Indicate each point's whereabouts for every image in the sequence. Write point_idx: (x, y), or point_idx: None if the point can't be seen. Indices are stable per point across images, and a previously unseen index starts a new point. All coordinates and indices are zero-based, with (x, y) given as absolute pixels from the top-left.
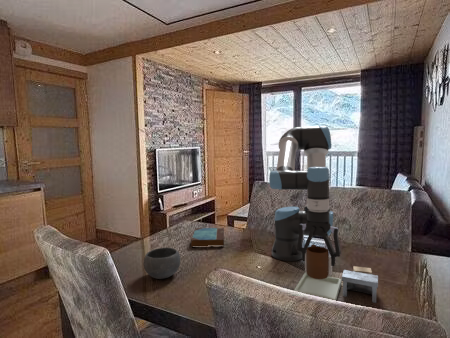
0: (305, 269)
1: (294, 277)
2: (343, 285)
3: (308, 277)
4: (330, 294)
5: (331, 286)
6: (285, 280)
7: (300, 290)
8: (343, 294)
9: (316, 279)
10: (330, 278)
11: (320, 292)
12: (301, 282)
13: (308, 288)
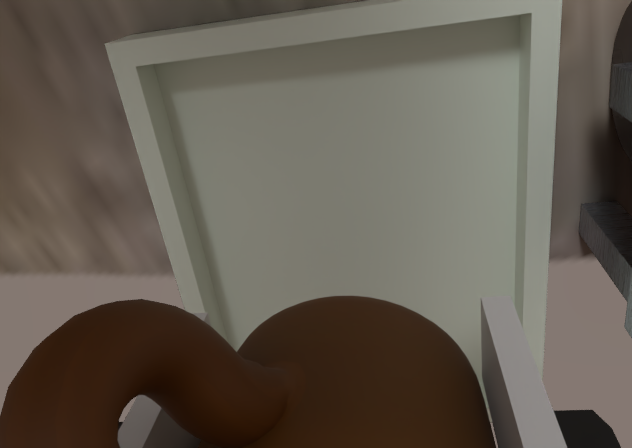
0: None
1: (55, 109)
2: (622, 288)
3: (176, 67)
4: (476, 292)
5: (456, 145)
6: (36, 213)
7: (240, 340)
8: (587, 239)
9: (268, 67)
10: (421, 24)
11: (390, 300)
12: (199, 283)
13: (279, 284)
